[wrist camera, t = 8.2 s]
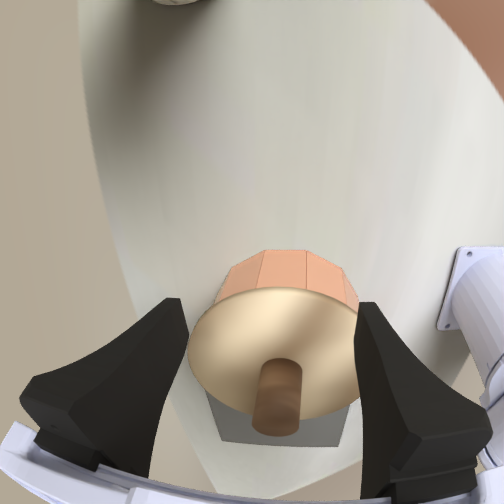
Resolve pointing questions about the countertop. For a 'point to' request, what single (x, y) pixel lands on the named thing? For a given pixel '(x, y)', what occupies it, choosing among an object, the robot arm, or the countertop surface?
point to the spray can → (174, 2)
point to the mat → (308, 435)
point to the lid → (277, 356)
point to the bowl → (289, 275)
